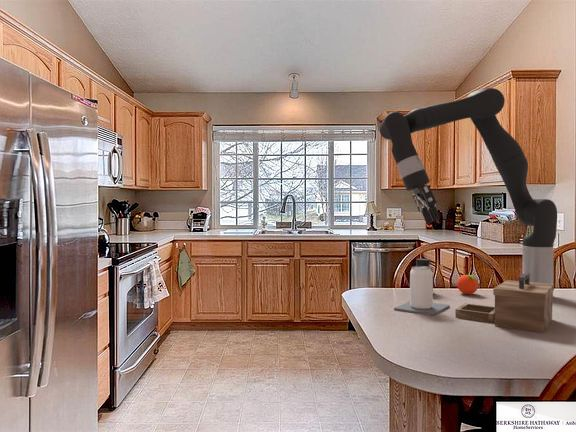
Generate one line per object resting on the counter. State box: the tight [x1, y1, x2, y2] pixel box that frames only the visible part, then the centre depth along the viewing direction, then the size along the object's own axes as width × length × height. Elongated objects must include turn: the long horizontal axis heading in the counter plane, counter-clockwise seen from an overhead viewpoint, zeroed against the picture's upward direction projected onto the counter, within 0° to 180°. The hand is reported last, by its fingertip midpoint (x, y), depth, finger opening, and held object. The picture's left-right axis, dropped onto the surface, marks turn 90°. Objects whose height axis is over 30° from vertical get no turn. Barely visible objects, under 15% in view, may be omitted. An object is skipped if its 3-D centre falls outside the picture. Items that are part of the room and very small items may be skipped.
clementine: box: [456, 273, 479, 295], centre depth 154 cm, size 8×7×7 cm
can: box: [409, 265, 434, 309], centre depth 132 cm, size 6×6×12 cm
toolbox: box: [454, 273, 555, 334], centre depth 119 cm, size 17×22×13 cm
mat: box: [393, 300, 451, 317], centre depth 133 cm, size 14×12×1 cm
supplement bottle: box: [415, 258, 434, 274], centre depth 158 cm, size 7×7×12 cm
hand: (433, 221), depth 135 cm, fingers open, 8 cm apart
